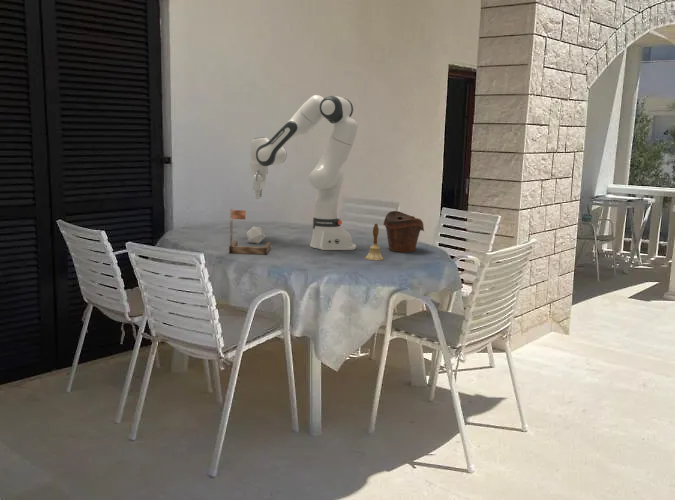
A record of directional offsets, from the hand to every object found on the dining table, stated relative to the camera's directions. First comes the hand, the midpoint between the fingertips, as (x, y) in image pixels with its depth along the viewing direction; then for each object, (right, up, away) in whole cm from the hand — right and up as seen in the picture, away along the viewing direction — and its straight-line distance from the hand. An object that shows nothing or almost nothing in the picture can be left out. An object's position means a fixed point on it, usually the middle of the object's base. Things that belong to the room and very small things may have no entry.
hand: (258, 197), depth 337 cm
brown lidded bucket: (+71, -26, -11) cm, 77 cm away
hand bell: (+56, -30, -34) cm, 72 cm away
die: (-1, -23, -6) cm, 24 cm away
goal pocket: (-1, -26, -26) cm, 37 cm away
